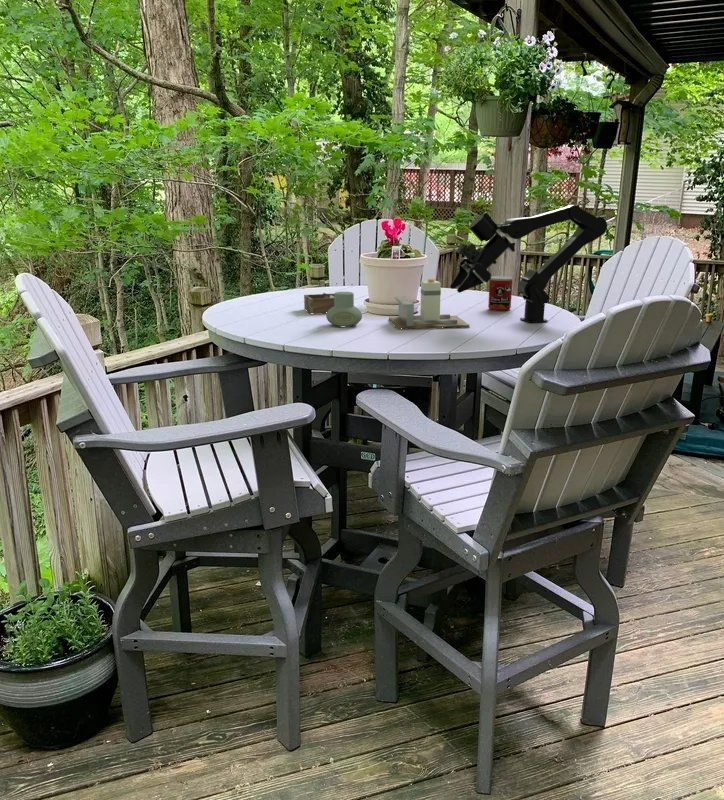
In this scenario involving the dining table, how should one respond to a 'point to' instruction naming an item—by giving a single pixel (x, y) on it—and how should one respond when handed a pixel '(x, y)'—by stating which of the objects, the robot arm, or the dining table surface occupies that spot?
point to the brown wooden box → (318, 303)
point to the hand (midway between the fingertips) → (454, 289)
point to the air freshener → (344, 310)
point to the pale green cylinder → (430, 300)
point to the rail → (406, 311)
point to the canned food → (500, 293)
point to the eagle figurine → (325, 296)
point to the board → (430, 322)
